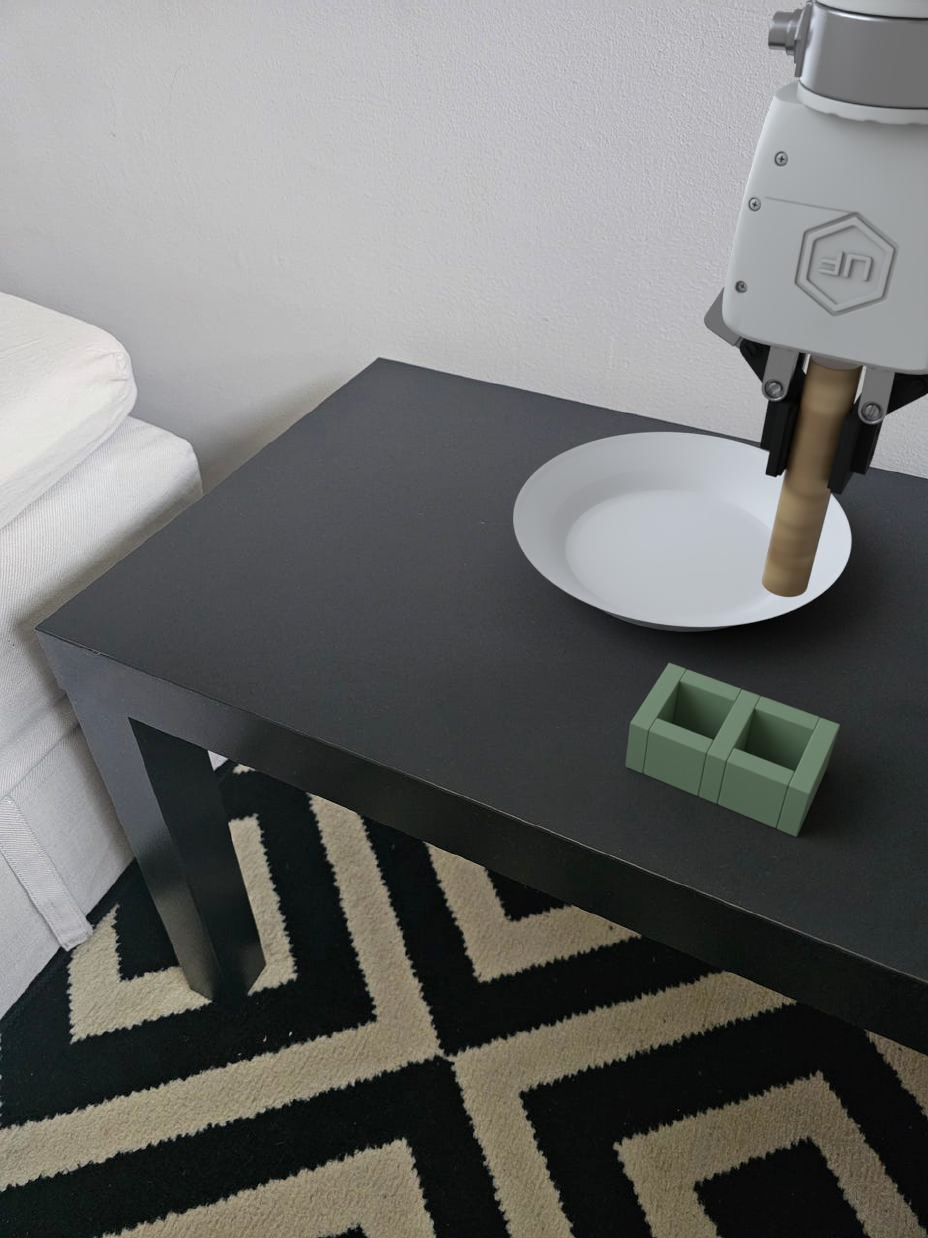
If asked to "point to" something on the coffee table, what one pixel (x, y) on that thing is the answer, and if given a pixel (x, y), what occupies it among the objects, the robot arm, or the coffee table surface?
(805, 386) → the stick
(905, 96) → the robot arm
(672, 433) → the white plate
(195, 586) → the coffee table surface
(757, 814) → the holder
